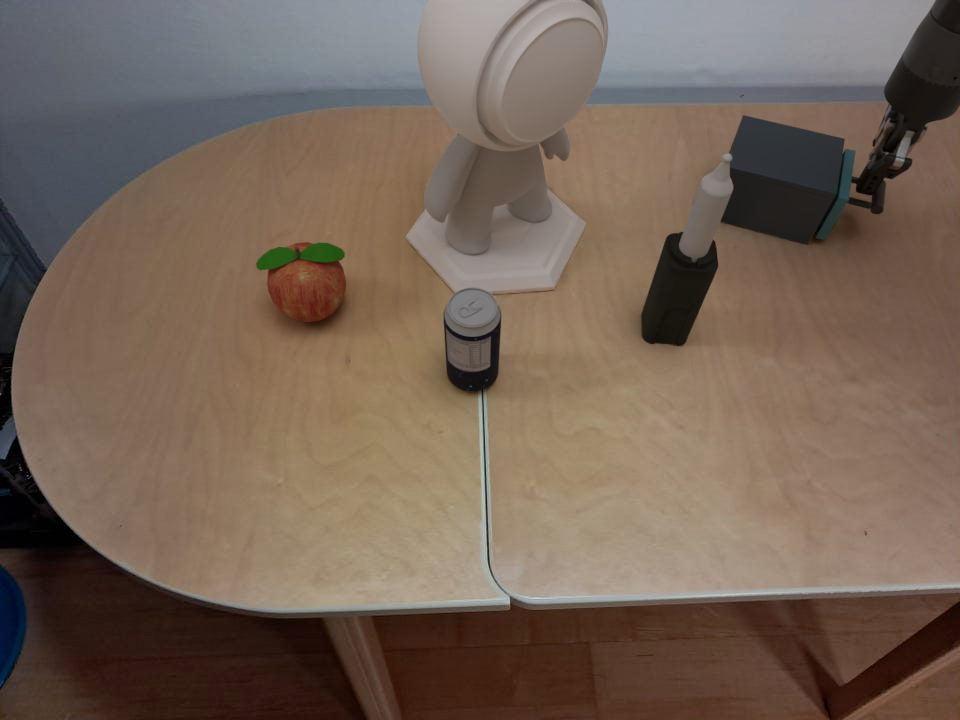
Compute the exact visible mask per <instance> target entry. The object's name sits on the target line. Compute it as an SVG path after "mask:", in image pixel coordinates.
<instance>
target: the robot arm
mask: <svg viewBox="0 0 960 720" xmlns="http://www.w3.org/2000/svg"><path fill="white" fill-rule="evenodd" d="M897 61H898V62H897V63H896V65H895V67H894V69H893V71H892V72H891V74H890V76H889V78H888V79H887V81H886V83H885V85H884V88H883V95H884V98H885V101H886V102H887V103H888V105H887V107H886V109H885V112H884V114H883V118H882V120H881V121H880V124H879V127H878V129H877V132H876V133H875V136H874V138H873V140H872V143H871V145H872V146H871V147H872V150H871V152H870V153H869V154H868V162H867V163H866V165H865V167H864V168H863V170H862V172H861V174H860V175H859V177H858V178H859V179H858V180H857V183H856V184H855V192H856V193H858V194H861V195H865V196H869V197H872V195H874V194H875V192H876V191H877V189H878V188H879V186H880V184H881V183H882V181H883V180H884V181H885V179H888V180H893V179H895V178H896V177H898V176H900V175H902V174H903V173H905V172H907V171H908V170H909V169H910V168H912V165H913V158H912V157H910V156H909V155H910V153H911V152H912V150H913V149H914V148H915V146H916V144H918V143H920V142H921V141H922V140H923V138H924V137H925V136H926V133H927V131H928V126H927V125H928V124H929V123H932V122H933V123H934V122H936V121H942V120H946V119H948V118H950V117H951V116H953V115H954V114H956V112H957V111H958V110H959V108H960V0H935V1H934V2H933V4H932V6H931V7H930V9H929V11H928V12H927V14H926V15H925V16H924V18H922V20H921V22H920V23H919V25H918V26H917V27H916V29H915V31H914V33H913V34H912V36H911V38H910V40H909V42H908V43H907V45H906V47H905V49H904V51H903V52H902V54H901V56H900V58H899V60H897Z"/></svg>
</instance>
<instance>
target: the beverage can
mask: <svg viewBox="0 0 960 720" xmlns="http://www.w3.org/2000/svg"><path fill="white" fill-rule="evenodd" d="M442 315H443V331H444V333H443V335H444V349H445V351H444V352H445V363H446V364H445V367H446V375H447V379H448V381H450V383H451V384H452V385H453V386H454V387H455V388H457V389H459V390H461V391H464V392H469V393H476V392H482V391H484V390H486V389H489V388H490V387H491V386H492V385H494V383H495V382H496V380H497V378H498V376H499V371H500V370H499V369H500V367H499V366H500V350H501V349H500V348H501V333H502V332H501V331H502V310H501V308H500V305H499V304H498V302H497V300H496V298H495V296H494V295H492V294H491V293H489V292H488V291H486V290H483V289H480V288H465V289H461V290H459V291H457V292H456V293H454V292H453V294H452V295H451V296H450V297H449V299H448V301H447V304H446V305H445V308H444V309H443V314H442Z"/></svg>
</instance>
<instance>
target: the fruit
mask: <svg viewBox="0 0 960 720" xmlns="http://www.w3.org/2000/svg"><path fill="white" fill-rule="evenodd" d="M345 255H346V252H345V251H344V250H343V249H342V248H341V247H339V246H337V245H334V244H332V243H329V242H316V243H313V242H309V241H304V242H303V241H302V242H295V243H293V244H290V245H287V246H277V247H274V248H270V249H269V250H267V251H266V252H265V253H263V254H262V255H261V256H260V257H259V258H258V259H257V261H256V263H255V267H256V269H257V270H258V271H267V282H266V285H267V291H268V294H269V296H270V298H271V300H272V303H273V304H274V305H275V306H276V308H277V309H278V310H279V311H280V312H281V313H282V314H284V315H285V316H286V317H289V318H291V319H293V320H294V321H298V322H306V323H312V322H313V323H314V322H318V321H322V320H324V319H326V318H328V317H329V316H331V315H332V314H334V313H335V312H336V311H337V309H338V308H339V307H340V305H341V304H342V302H343V300H344V297H345V294H346V288H347V278H346V274H345V270H344V267H343V265H342V264H341V262H340V261H342V260H343V259H345Z"/></svg>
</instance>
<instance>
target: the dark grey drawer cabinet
mask: <svg viewBox="0 0 960 720" xmlns="http://www.w3.org/2000/svg"><path fill="white" fill-rule="evenodd" d="M845 141H846V140H845V138H843V137H839V136H834V135H831V134H826V133H822V132H818V131H813V130H809V129H804V128H801V127H795V126H793V125H787V124H783V123H779V122H775V121H770V120H766V119H762V118H758V117H753V116H749V115H745V114H743V115H742V116H741V120H740V122H739V125H738V127H737V130H736V133H735V136H734V138H733V141H732V143H731V146H730V148H729V152H728V153H729V154H731V155H732V161H731V162H730V178H731V180H732V183H733V191H732V194H731V196H730V199H729V201H728V204H727V206H726V209H725V211H724V213H723V216H722V218H721V221H720V223H724V224H728V225H731V226H735V227H739V228H743V229H746V230H749V231H750V230H751V231H753V232H758V233H762V234H766V235H769V236H773V237H776V238H780V239H783V240H788V241H791V242H796V243H800V244H804V245H807V246H808V245H809V244H810V241H811V240H812V238H813V236H814V234H816V231H817V228H818V226H819V224H820V222H821V221H822V219H823V217H824V215H825V214H826V212H827V210H828V208H829V207H830V205H831V203H832V201H833V199H834V198H835V196H836V194H837V189H838V182H839V175H840V168H841V162H842V155H843V153H844V147H845Z"/></svg>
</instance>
